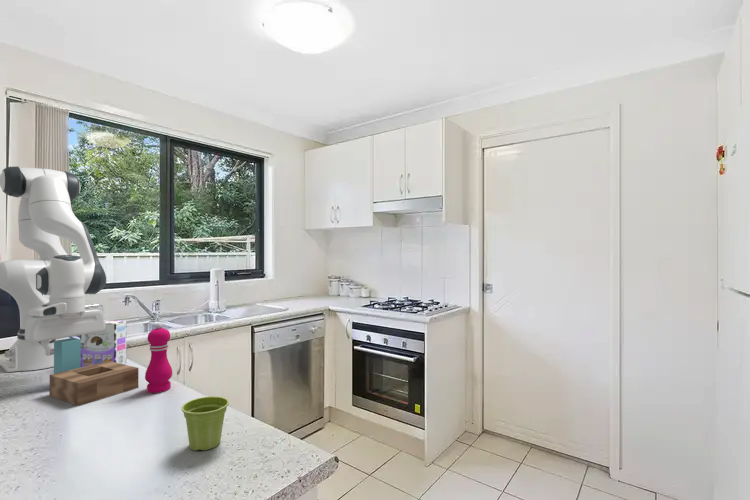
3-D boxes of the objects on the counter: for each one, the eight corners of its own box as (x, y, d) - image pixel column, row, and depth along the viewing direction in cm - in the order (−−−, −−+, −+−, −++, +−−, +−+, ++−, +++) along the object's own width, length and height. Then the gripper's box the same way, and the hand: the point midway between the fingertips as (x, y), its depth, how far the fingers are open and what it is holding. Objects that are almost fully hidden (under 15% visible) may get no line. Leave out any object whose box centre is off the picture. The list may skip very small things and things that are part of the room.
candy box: (127, 364, 142) (127, 320, 142) (115, 369, 136) (115, 323, 136) (92, 363, 143) (92, 319, 143) (79, 368, 137) (79, 322, 138)
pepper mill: (160, 394, 112) (160, 325, 112) (139, 392, 114) (139, 324, 114) (177, 386, 119) (177, 321, 119) (157, 384, 121) (157, 320, 121)
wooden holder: (49, 395, 111) (49, 374, 111) (109, 379, 126) (109, 361, 126) (78, 405, 104) (78, 383, 104) (138, 387, 118) (138, 367, 118)
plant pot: (215, 430, 90) (215, 392, 90) (237, 442, 84) (237, 402, 84) (173, 445, 83) (173, 405, 83) (194, 460, 77) (194, 417, 77)
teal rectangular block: (53, 386, 119) (53, 340, 119) (72, 381, 124) (72, 337, 124) (61, 388, 117) (62, 342, 117) (80, 383, 121) (80, 339, 122)
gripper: (98, 302, 131) (99, 343, 131) (21, 310, 113) (22, 358, 113) (109, 303, 128) (109, 345, 128) (32, 311, 110) (32, 360, 110)
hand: (68, 351), depth 120 cm, fingers open, 8 cm apart
